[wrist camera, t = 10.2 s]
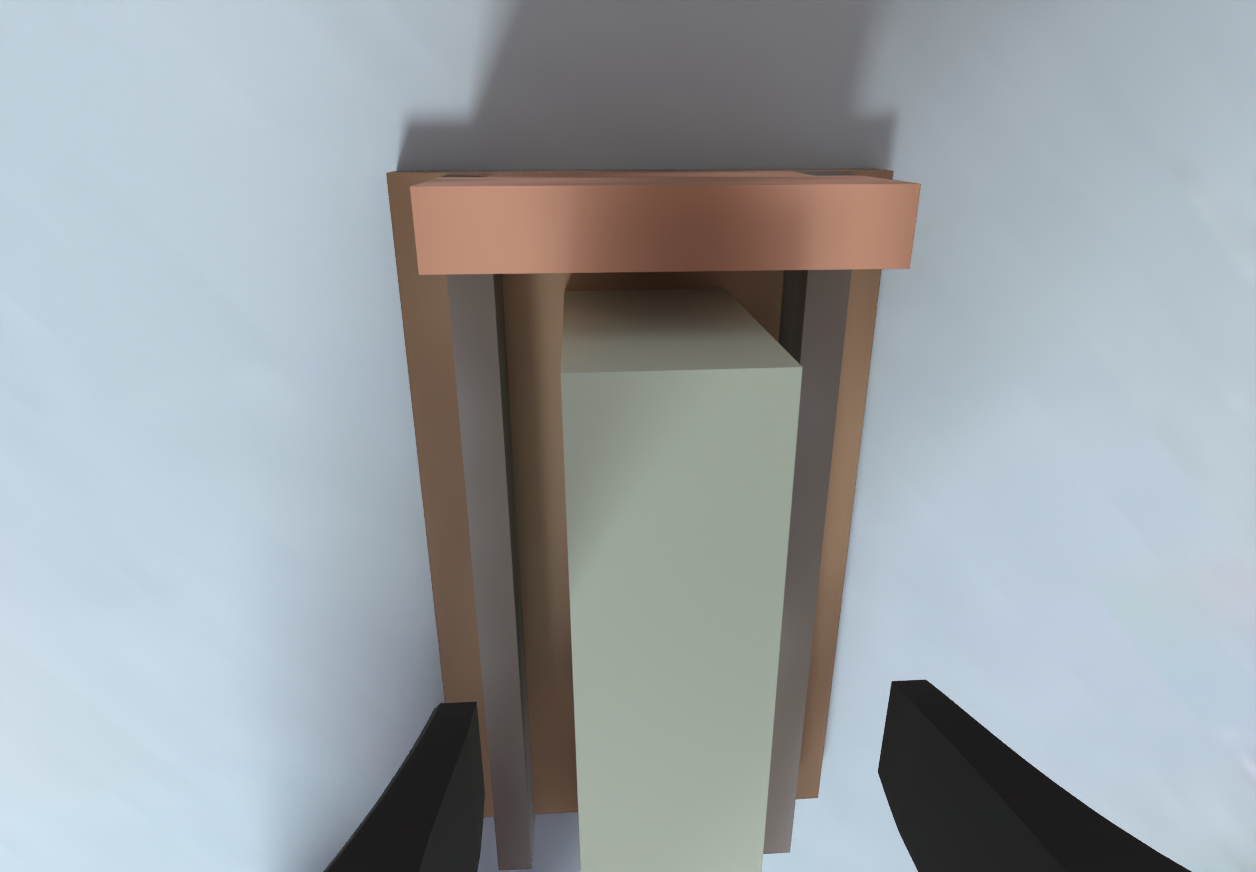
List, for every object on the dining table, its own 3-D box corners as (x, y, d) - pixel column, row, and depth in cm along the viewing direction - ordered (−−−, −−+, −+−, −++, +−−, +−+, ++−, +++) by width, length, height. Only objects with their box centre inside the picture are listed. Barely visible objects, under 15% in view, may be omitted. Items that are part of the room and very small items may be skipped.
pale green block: (578, 683, 23) (581, 895, 17) (564, 291, 19) (560, 373, 12) (708, 676, 24) (760, 883, 17) (724, 287, 19) (802, 367, 13)
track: (462, 793, 26) (432, 974, 20) (395, 170, 19) (320, 186, 13) (809, 775, 27) (872, 943, 21) (877, 168, 19) (1001, 183, 14)
